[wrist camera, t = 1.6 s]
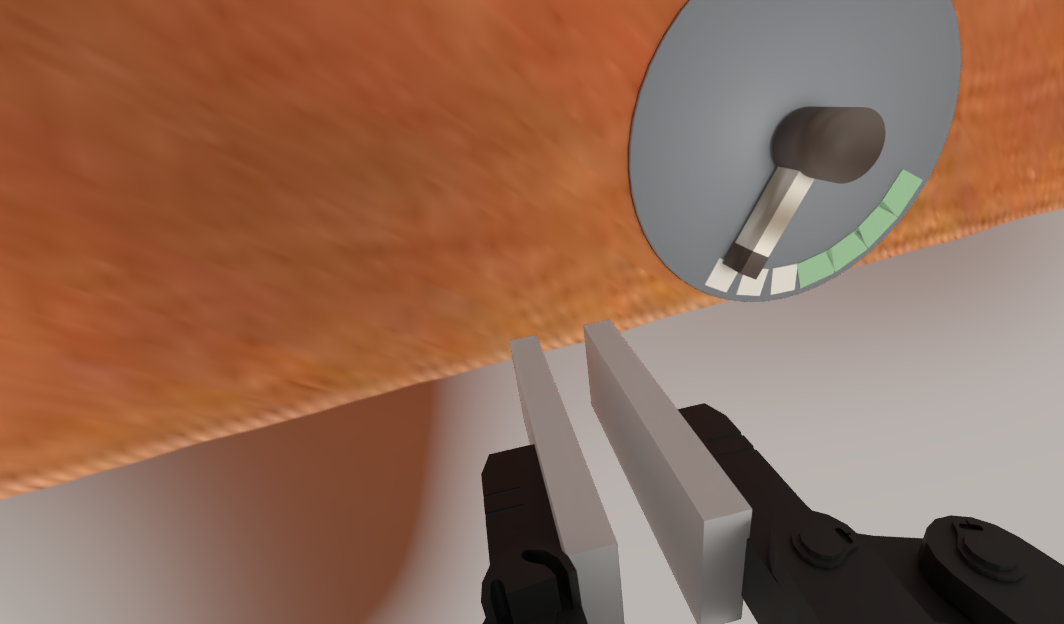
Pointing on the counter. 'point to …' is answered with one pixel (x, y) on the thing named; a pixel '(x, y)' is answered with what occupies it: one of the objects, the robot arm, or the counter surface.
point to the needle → (806, 172)
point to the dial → (757, 112)
